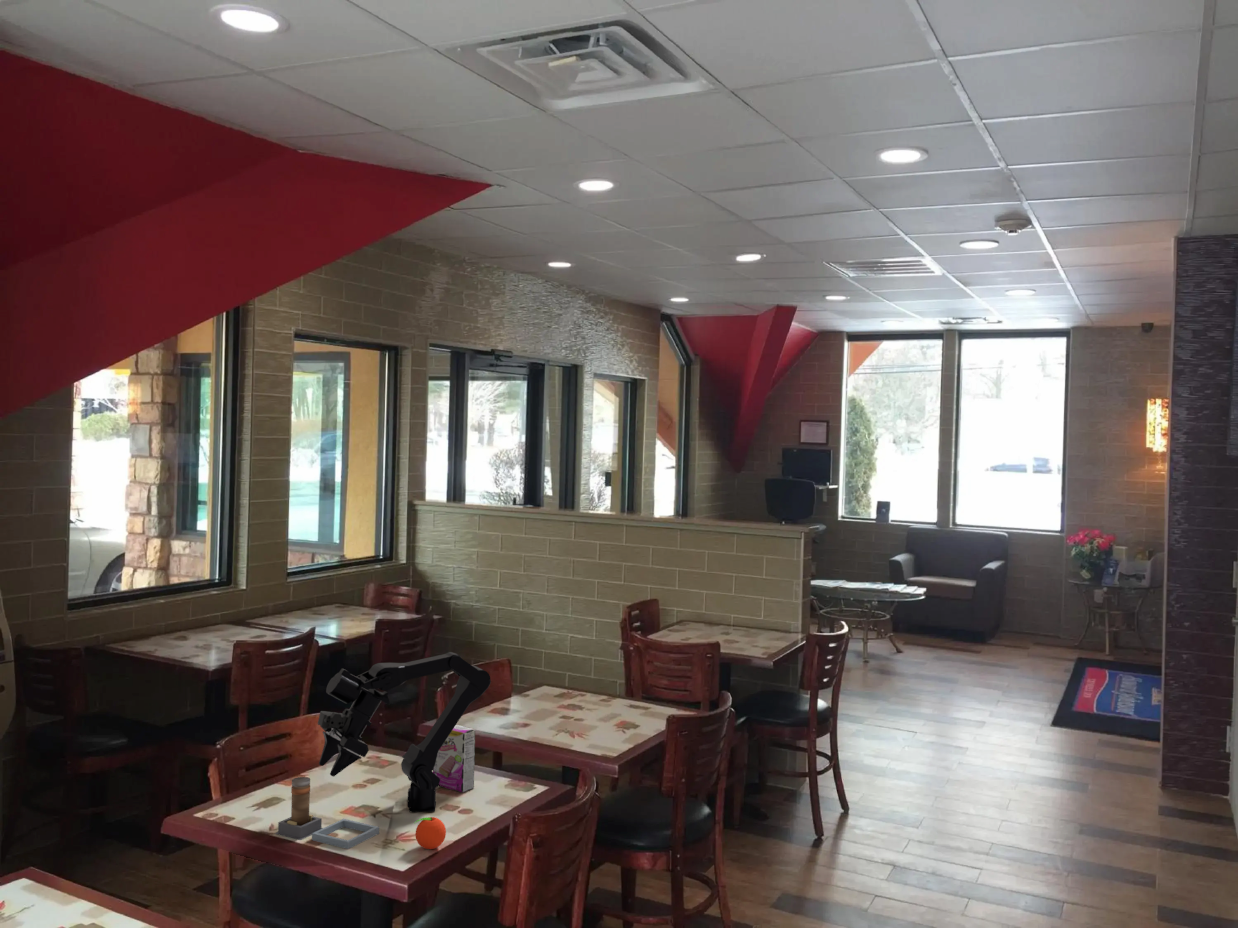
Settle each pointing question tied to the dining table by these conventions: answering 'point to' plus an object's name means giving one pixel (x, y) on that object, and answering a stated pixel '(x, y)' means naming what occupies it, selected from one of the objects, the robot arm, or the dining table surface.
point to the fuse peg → (300, 800)
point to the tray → (324, 838)
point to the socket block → (299, 828)
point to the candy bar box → (457, 760)
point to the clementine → (430, 832)
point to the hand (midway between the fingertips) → (326, 770)
